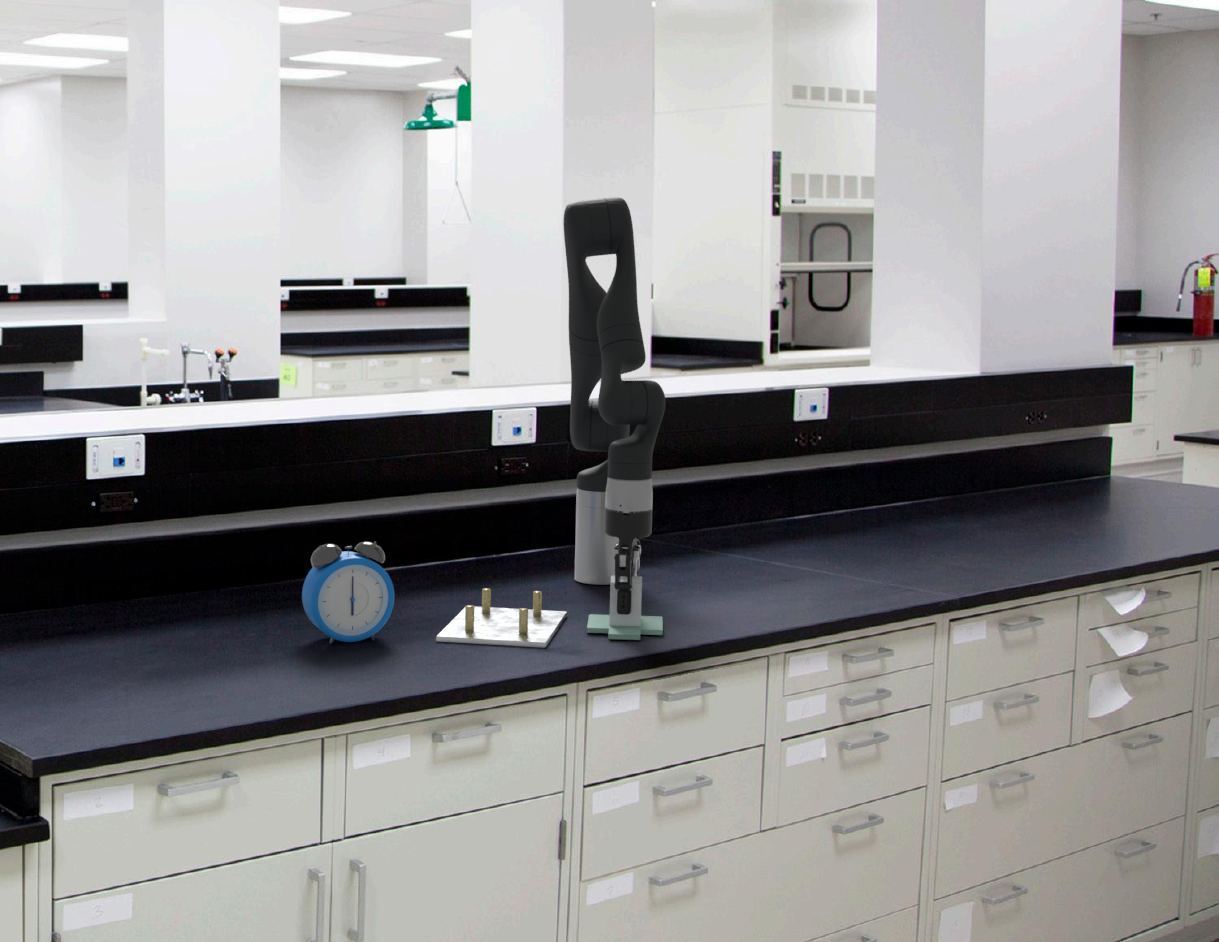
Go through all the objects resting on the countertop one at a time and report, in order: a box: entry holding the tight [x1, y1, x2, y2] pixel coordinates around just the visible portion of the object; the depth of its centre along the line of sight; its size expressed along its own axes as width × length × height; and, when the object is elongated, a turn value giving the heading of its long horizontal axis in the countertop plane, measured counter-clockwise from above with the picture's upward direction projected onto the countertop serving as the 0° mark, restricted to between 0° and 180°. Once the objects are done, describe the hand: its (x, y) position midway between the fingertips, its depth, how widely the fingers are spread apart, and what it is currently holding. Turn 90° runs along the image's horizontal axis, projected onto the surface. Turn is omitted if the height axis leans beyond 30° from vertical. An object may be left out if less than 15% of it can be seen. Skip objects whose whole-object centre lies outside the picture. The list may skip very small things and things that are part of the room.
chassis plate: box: [435, 587, 568, 649], centre depth 240 cm, size 21×17×5 cm
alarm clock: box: [301, 541, 396, 645], centre depth 230 cm, size 13×6×15 cm, turn 116°
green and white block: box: [586, 575, 664, 641], centre depth 242 cm, size 16×12×8 cm
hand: (625, 609), depth 242 cm, fingers closed on green and white block, 5 cm apart
